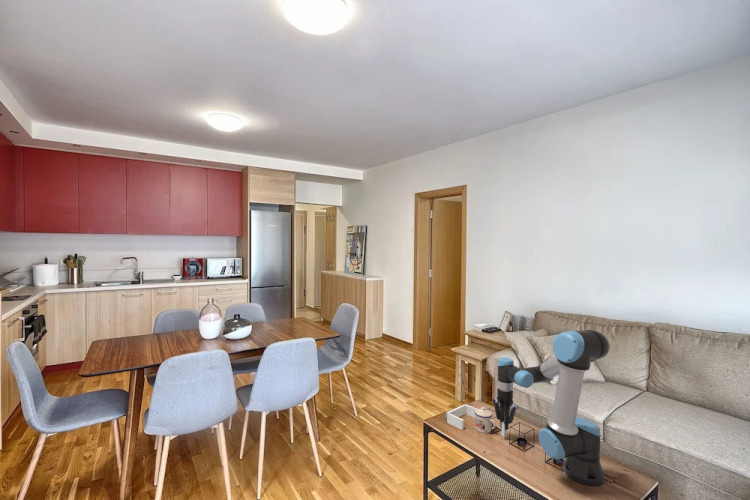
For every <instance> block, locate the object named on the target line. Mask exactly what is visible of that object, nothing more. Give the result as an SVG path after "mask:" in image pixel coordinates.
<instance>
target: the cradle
mask: <svg viewBox="0 0 750 500" xmlns="http://www.w3.org/2000/svg"><path fill="white" fill-rule="evenodd" d="M477 409H478V408H476V407H474V406H472V405H470V404H466V403H465V404H462V405H460V406H458V407H455V408H453V409H451V410H448V411H446V412H444V422H445V423H447V424H449V425H451V426H453V427H456V428H457V429H459V430H462V431H463V430H465V419H463V418H461V417H463V416H464V415H468V416H470V417H471V418H474V419H475V410H477Z"/></svg>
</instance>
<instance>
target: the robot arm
mask: <svg viewBox="0 0 750 500" xmlns="http://www.w3.org/2000/svg"><path fill="white" fill-rule="evenodd" d="M610 349H611V348H610V342H609V340H608V338H607V337H606V335H605V334H603V333H601V332H600V331H597V330H593V329H585V330H568V331H563V332H560V333H559V334H557V335H556V336H555V337H554V339H553V343H552V350H553V352H554V357H552V358H550V359H548V360H546V361H545V362H542V363H541V364H539V365H537V366H531V367H530V366H529V367H522V368H521V367H518V366H515V361H514V359H512V358H510V357H499V358H498V360H497V390H496V391H497V394H496V395H497V396H496V397H495V398H493V399H492V402H493V405H494V411H495V416H496V419H497V420H498V421H499V422H500V423H499V427H500V428H501V433H500V434H501V436H502V437H506V436H507V435H508V430H509V429H510V428H509V425H510V424H513V421H514V418H515V414H516V410H517V409H518V405H515V404H514V400H513V398H514V384H516V385H518V386H520V387H522V388H525V389H528V388H530V387H531V386H532V385H533V384H538V383H548V382H551V381H553V380H554V378H555V377H556V376H558V378H557V386H556V391H555V395H554V396H555V397H554V401H553V403H554V404H553V409H552V413H551V414H552V415H551V416H550V417H549V416H548V418H547V420H546V425H545V426H546V427H543V428H541V429H539V431H538V442H539V444H540V446H541V449H542V450H543V451H544V453H545V454H546V455H547V456H548V457H550V458H551V459H553V460H561V459H562V460H564V459H565V461H564V463H563V472H564V473H565V475H566V476H567V477H568V478H570V479H571V480H573V481H575V482H577V483H579V484H583V485H585V486H591V487H596V486H601V485H603V484H604V483H605V473H604V469H603V466H602V464H601V437H602V434H601V428H600V426H599V425H598V424H597V423H595V422H594V421H592V420H589V419H586V418H584V417H579V416H577V415H578V410H579V404H580V399H581V393H582V387H583V381H584V376H585V372H587V371H589V370H590V367H591V363H593V362H596V361H597V360H601V359H602V358H605V357H607V355H608V354H609V352H610ZM510 409H511V410H510Z"/></svg>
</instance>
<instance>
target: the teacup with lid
mask: <svg viewBox="0 0 750 500" xmlns="http://www.w3.org/2000/svg"><path fill="white" fill-rule="evenodd" d="M495 428H496V422H495V420H494V419H493V412H491V410H489V409H487V408H486V407H485V406H481V407H480V408H477V410H475V418H474V429H475V431H477V432H479V433H481V434H482V433H483V434H489V433H491V432H492V430H494V429H495ZM491 429H492V430H491ZM490 431H491V432H490Z"/></svg>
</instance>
